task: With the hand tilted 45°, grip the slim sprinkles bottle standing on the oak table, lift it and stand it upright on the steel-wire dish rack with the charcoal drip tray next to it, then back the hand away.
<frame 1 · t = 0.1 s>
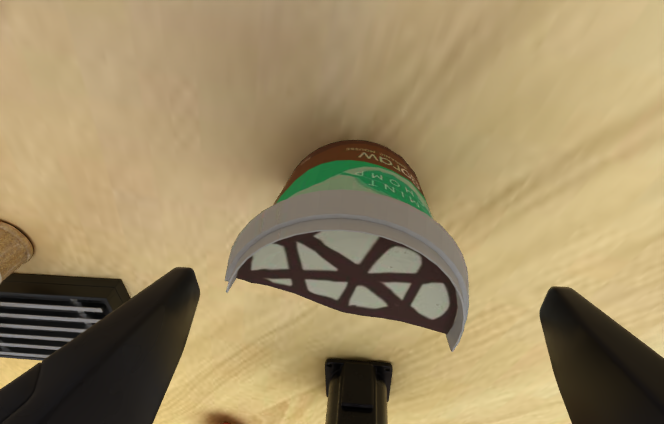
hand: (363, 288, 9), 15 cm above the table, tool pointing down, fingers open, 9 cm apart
sprinkles bottle: (10, 237, 31), on the table
food container: (366, 167, 24), on the table
dish rack: (51, 311, 36), on the table
onion: (227, 421, 46), on the table
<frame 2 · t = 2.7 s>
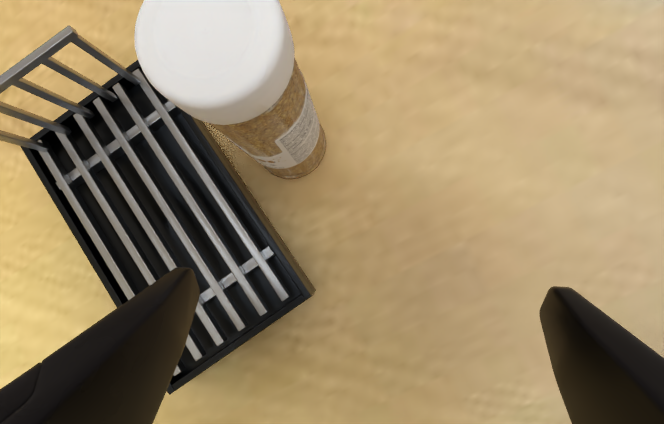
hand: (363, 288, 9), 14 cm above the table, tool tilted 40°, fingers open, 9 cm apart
sprinkles bottle: (293, 146, 24), on the table
dish rack: (176, 218, 24), on the table
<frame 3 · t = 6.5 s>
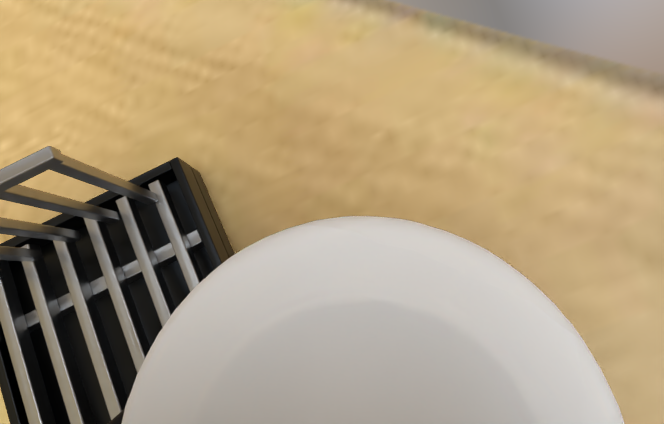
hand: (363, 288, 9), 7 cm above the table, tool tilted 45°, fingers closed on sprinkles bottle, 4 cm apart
sprinkles bottle: (361, 316, 16), on the table, touching gripper
dish rack: (172, 397, 16), on the table
when the fingers open (10 cm above the table, at t = 11.5 s): sprinkles bottle stays where it is, resting on dish rack.
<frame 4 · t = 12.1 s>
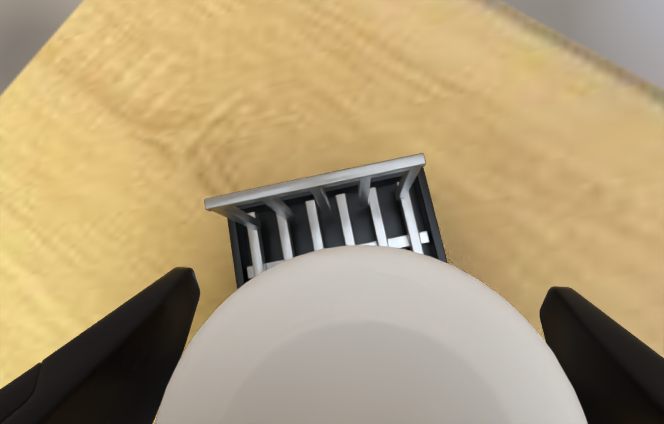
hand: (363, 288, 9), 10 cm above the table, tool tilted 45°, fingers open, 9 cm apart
sprinkles bottle: (361, 320, 17), point 2 cm above the table, touching dish rack
dish rack: (360, 364, 19), on the table
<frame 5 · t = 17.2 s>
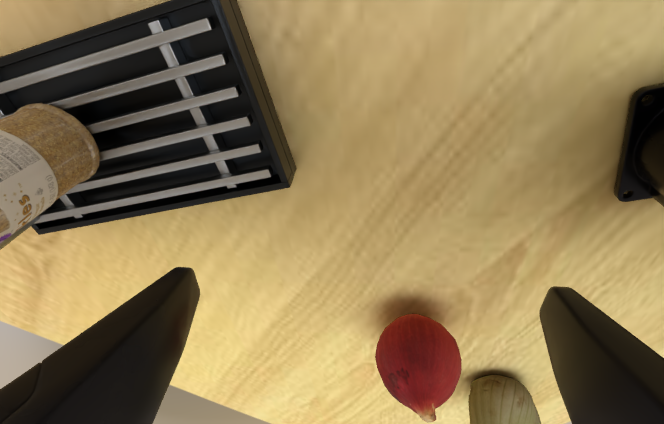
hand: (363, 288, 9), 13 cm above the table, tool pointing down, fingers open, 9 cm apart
sprinkles bottle: (64, 139, 20), point 2 cm above the table, touching dish rack
fennel bulb: (495, 380, 33), on the table
dish rack: (128, 124, 22), on the table
onion: (412, 314, 29), on the table
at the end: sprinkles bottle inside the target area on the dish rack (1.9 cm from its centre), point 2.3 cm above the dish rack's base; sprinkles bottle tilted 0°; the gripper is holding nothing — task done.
